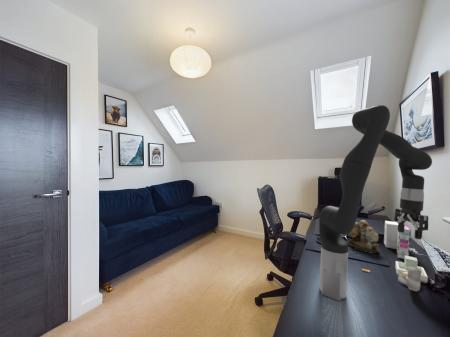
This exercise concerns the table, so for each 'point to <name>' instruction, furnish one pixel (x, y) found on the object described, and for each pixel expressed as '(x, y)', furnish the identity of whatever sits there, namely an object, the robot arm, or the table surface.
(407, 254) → the candy bar box
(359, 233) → the owl figurine
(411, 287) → the crank arm
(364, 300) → the table surface
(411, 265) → the stop block
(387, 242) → the supplement box
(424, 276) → the tray
